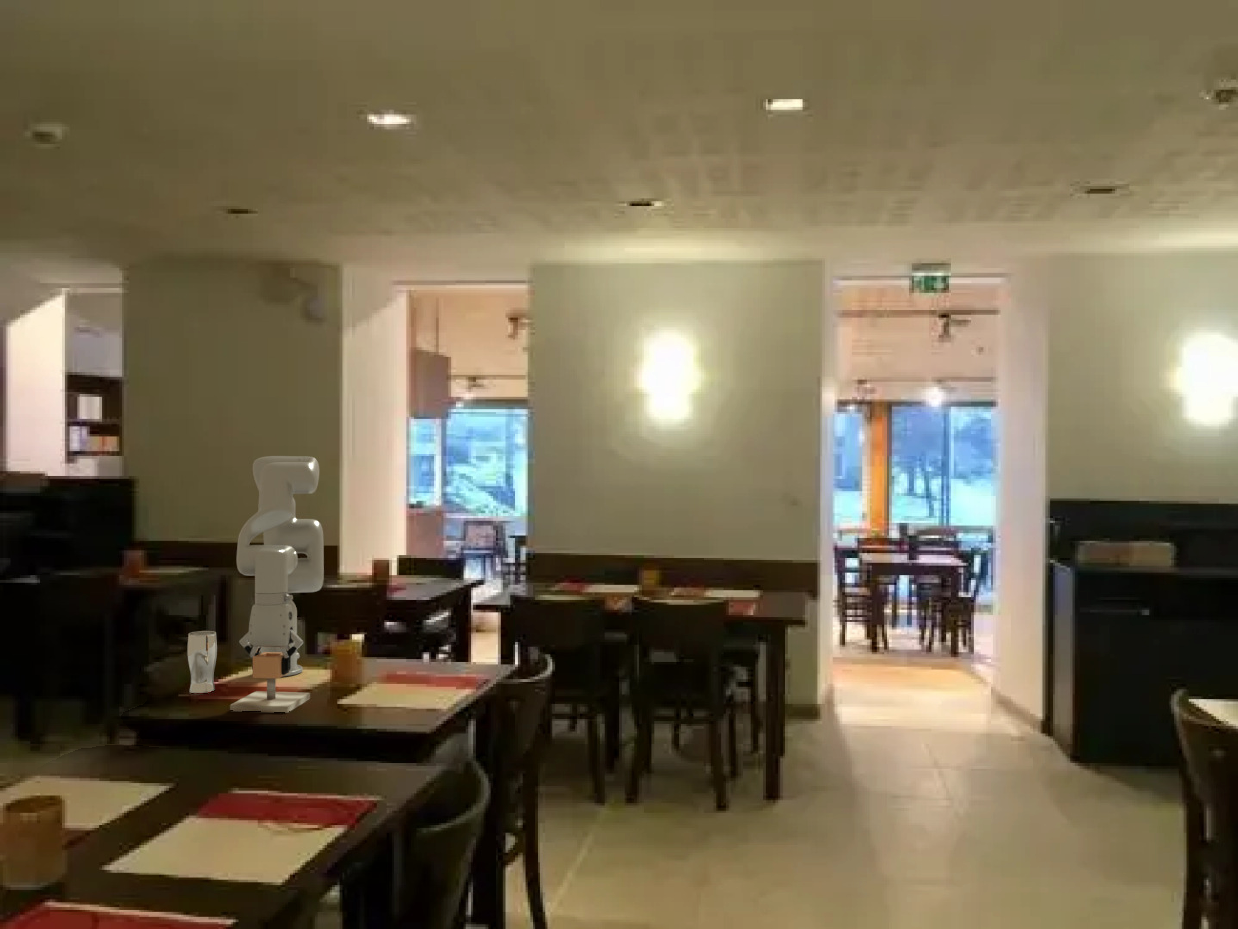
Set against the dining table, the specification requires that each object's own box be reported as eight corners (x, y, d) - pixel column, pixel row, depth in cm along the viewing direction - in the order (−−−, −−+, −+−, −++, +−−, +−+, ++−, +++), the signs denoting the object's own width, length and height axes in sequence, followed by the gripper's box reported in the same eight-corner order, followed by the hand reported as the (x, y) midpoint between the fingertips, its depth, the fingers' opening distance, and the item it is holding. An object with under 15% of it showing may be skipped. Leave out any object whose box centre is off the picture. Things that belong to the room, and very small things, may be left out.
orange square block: (264, 672, 258) (264, 652, 258) (289, 673, 258) (289, 652, 258) (252, 678, 252) (252, 657, 252) (278, 678, 251) (278, 657, 251)
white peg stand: (255, 697, 263) (255, 657, 263) (310, 698, 262) (310, 658, 261) (230, 711, 249) (230, 669, 249) (287, 713, 248) (287, 670, 247)
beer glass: (221, 689, 271) (221, 631, 271) (208, 695, 264) (208, 636, 264) (196, 688, 272) (196, 630, 272) (182, 694, 265) (182, 635, 265)
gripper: (311, 598, 258) (311, 671, 258) (243, 596, 259) (243, 669, 259) (299, 602, 250) (299, 677, 250) (229, 601, 252) (229, 675, 252)
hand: (271, 672), depth 255 cm, fingers closed on orange square block, 6 cm apart
